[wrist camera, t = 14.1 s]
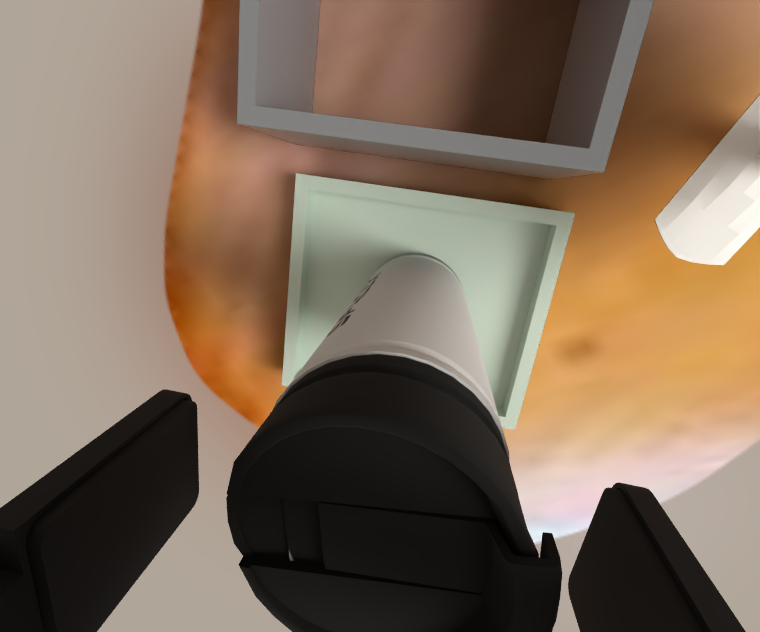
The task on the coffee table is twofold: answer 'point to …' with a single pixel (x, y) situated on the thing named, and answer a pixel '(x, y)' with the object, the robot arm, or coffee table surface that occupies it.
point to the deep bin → (535, 159)
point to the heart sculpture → (718, 198)
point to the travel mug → (391, 478)
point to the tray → (432, 237)
